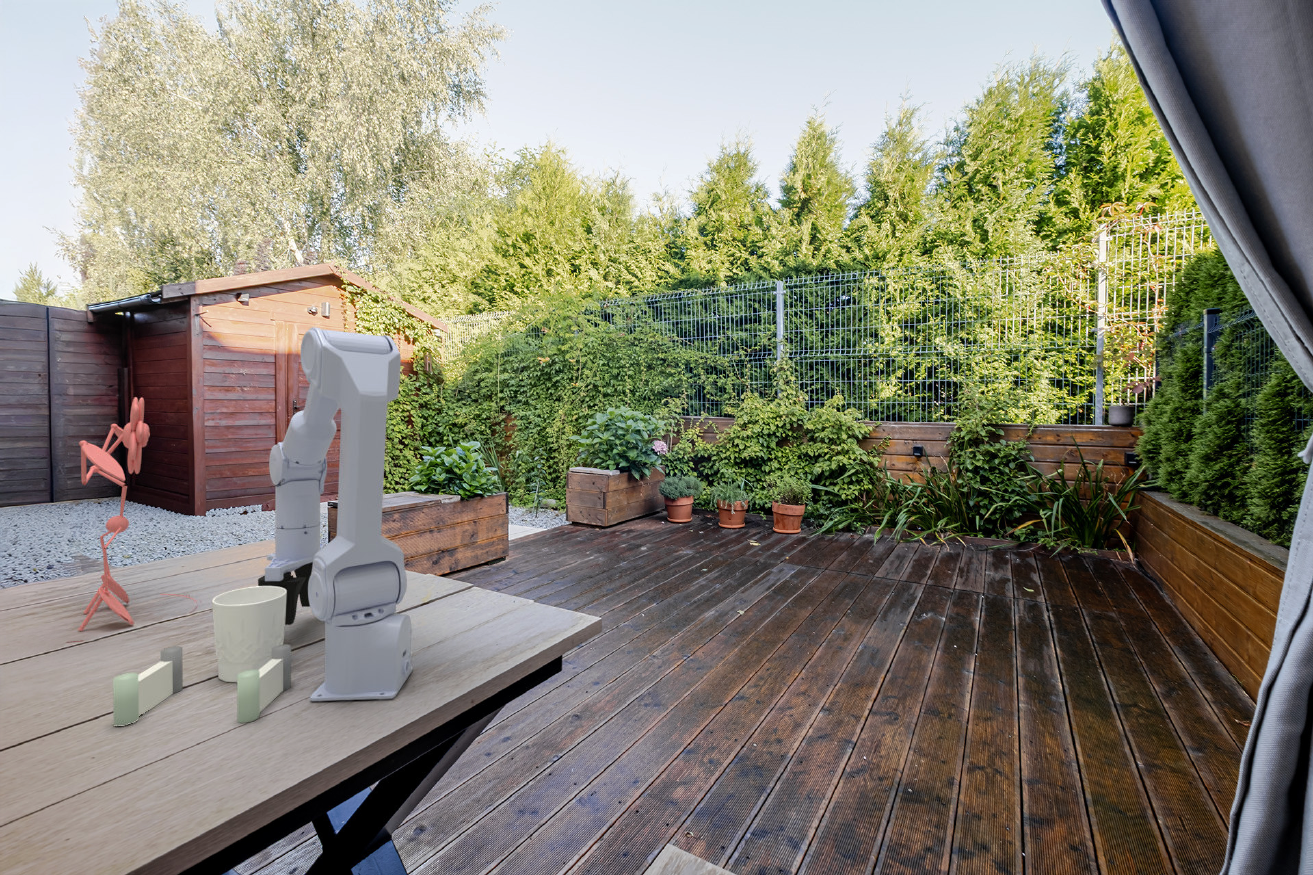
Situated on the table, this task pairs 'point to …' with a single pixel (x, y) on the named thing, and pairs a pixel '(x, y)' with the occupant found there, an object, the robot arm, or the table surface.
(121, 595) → the figurine
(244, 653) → the white cup
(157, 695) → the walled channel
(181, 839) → the table surface
